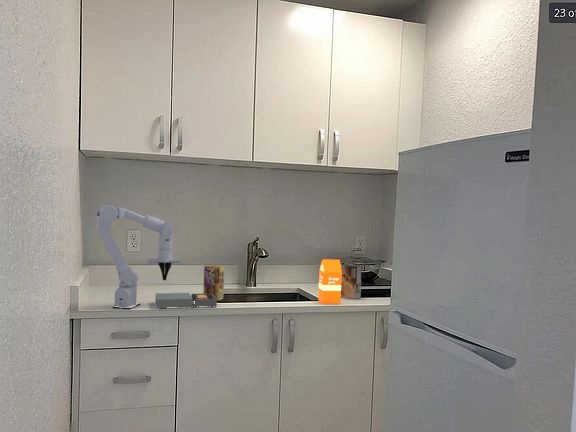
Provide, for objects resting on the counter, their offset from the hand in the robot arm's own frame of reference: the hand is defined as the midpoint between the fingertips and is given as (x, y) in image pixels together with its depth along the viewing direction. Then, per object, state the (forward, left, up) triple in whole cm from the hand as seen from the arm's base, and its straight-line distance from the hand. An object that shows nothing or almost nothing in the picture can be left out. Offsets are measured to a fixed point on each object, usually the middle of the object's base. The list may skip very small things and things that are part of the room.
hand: (164, 279), depth 224 cm
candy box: (+17, -17, -11) cm, 26 cm away
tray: (+4, -17, -10) cm, 20 cm away
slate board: (-2, -5, -10) cm, 12 cm away
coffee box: (+44, -79, -11) cm, 91 cm away
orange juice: (+30, -70, -11) cm, 77 cm away
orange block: (+4, -16, -7) cm, 18 cm away
